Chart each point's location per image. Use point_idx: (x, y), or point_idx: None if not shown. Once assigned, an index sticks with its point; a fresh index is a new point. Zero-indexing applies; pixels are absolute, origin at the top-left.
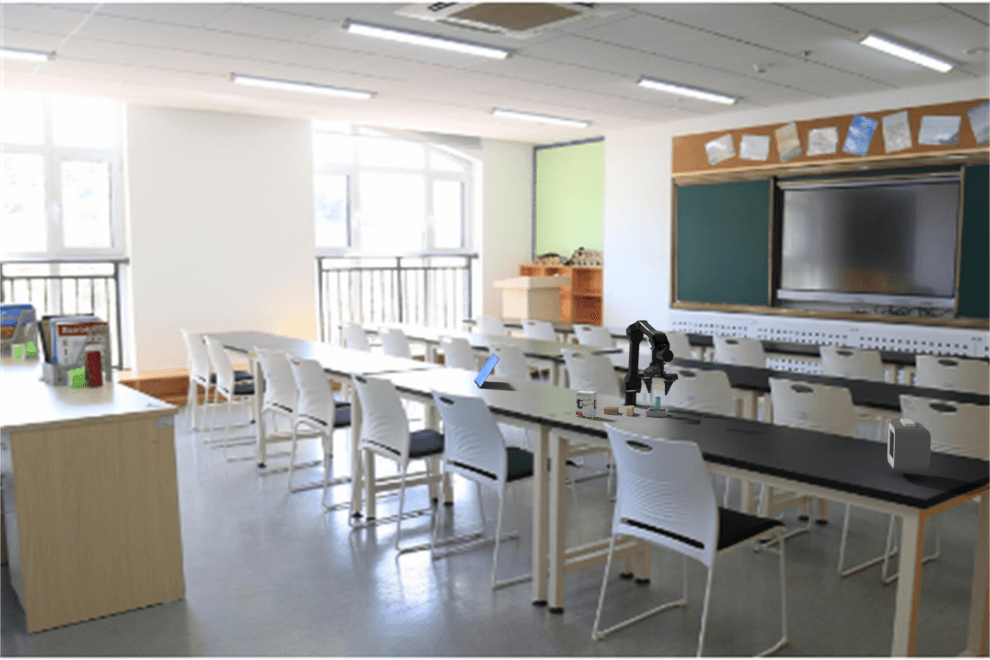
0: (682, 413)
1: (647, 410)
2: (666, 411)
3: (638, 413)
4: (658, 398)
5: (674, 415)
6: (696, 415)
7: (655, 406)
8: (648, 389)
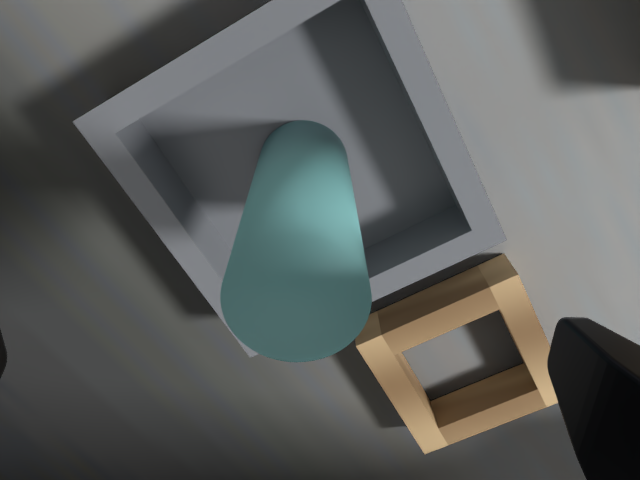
0: (188, 450)
1: (401, 32)
2: (111, 170)
3: (604, 121)
4: (233, 249)
5: (155, 306)
6: (6, 446)
7: (301, 157)
8: (629, 370)
